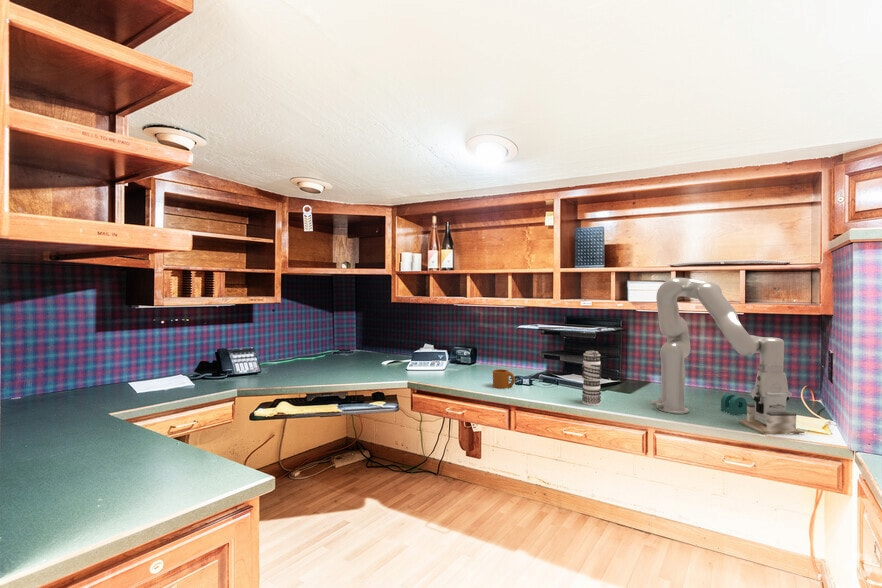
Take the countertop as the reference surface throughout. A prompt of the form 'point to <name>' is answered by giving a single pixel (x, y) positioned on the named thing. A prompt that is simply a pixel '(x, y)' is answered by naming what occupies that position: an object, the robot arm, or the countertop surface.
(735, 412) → the bracket
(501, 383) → the mug
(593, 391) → the decorative candle
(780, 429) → the clip holder
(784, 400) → the supplement box
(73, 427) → the countertop surface
